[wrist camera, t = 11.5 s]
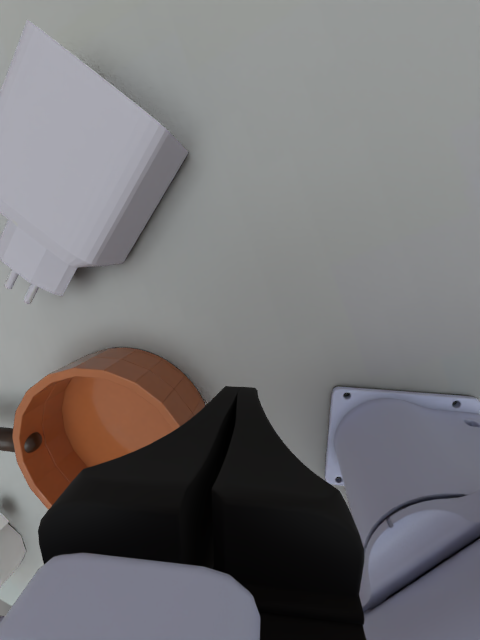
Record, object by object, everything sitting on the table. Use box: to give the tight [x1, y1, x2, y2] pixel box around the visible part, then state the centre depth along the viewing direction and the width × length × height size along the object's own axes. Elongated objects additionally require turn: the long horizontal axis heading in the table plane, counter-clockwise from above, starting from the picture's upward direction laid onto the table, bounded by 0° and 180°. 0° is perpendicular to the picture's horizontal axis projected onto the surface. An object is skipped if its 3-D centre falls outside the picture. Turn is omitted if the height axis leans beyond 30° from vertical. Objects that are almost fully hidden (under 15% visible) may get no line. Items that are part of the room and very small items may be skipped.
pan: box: [12, 348, 205, 509], centre depth 22 cm, size 14×14×4 cm
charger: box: [0, 20, 189, 304], centre depth 18 cm, size 5×9×15 cm
